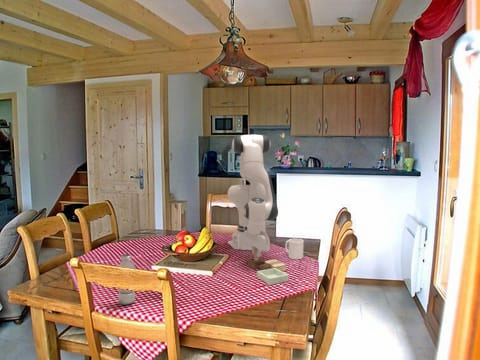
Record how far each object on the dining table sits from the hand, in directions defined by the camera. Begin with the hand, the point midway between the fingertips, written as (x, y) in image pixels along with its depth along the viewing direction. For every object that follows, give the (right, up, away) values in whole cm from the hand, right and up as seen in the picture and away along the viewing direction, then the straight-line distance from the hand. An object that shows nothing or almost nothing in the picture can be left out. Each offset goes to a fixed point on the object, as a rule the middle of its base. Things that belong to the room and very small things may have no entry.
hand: (256, 255), depth 200 cm
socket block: (0, -7, +1) cm, 7 cm away
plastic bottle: (-55, -11, -45) cm, 72 cm away
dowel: (0, -6, +1) cm, 6 cm away
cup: (+22, -5, +20) cm, 30 cm away
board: (+10, -7, -2) cm, 12 cm away
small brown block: (+4, -7, -5) cm, 10 cm away
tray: (+7, -9, -16) cm, 19 cm away
